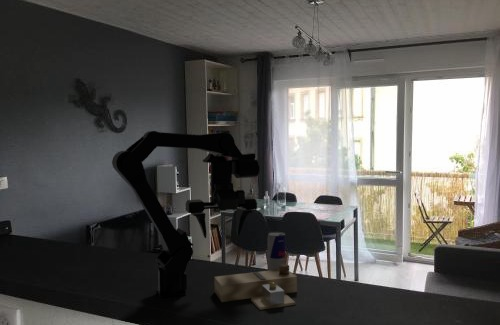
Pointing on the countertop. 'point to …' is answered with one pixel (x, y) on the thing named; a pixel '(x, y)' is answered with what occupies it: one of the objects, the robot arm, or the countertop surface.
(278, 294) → the grey piece
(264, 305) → the flat wooden board
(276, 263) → the energy drink
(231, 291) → the plane body
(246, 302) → the countertop surface
